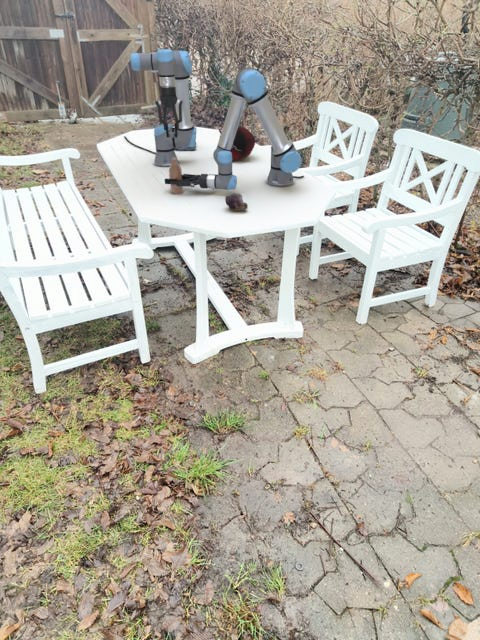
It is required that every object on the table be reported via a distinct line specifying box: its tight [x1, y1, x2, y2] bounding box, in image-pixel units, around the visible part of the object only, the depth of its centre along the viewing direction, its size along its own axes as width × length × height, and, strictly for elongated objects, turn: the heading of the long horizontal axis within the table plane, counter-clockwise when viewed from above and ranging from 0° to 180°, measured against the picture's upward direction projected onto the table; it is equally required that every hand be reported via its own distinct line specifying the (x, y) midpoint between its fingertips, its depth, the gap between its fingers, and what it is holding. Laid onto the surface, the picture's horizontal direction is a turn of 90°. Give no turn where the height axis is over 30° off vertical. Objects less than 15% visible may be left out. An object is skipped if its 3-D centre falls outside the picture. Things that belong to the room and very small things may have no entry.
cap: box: [168, 132, 176, 138], centre depth 232 cm, size 4×4×2 cm
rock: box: [224, 192, 249, 212], centre depth 223 cm, size 12×9×10 cm
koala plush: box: [174, 142, 197, 151], centre depth 321 cm, size 17×18×20 cm
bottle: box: [168, 157, 184, 195], centre depth 243 cm, size 7×7×18 cm
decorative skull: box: [218, 125, 256, 161], centre depth 298 cm, size 21×24×25 cm
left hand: (172, 136), depth 232 cm, fingers closed on cap, 4 cm apart
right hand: (167, 179), depth 245 cm, fingers closed on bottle, 7 cm apart
